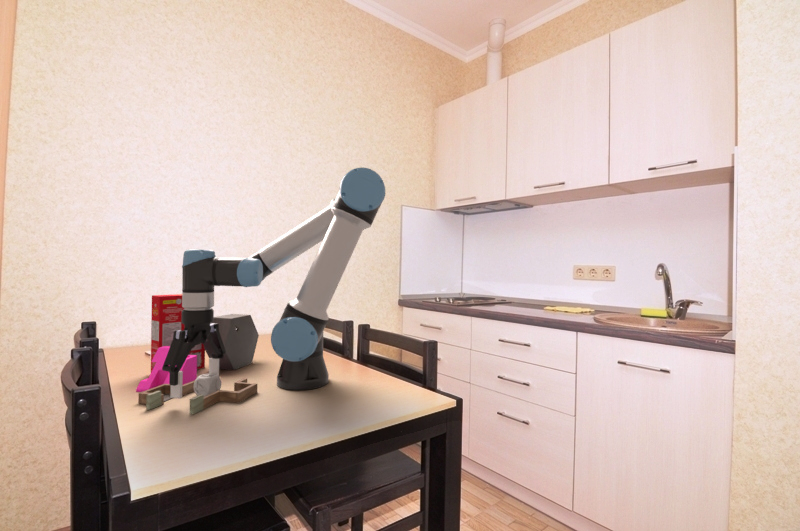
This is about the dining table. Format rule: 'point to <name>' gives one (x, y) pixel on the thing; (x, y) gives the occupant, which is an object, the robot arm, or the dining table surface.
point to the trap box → (198, 403)
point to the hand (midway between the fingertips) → (196, 389)
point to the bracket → (162, 376)
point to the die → (207, 384)
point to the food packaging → (169, 325)
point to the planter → (236, 340)
